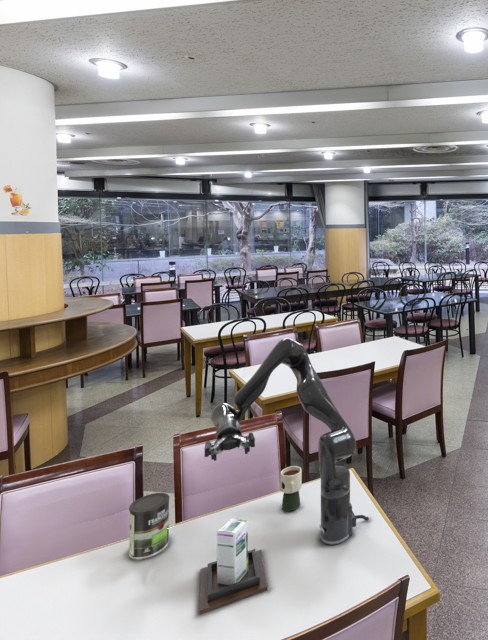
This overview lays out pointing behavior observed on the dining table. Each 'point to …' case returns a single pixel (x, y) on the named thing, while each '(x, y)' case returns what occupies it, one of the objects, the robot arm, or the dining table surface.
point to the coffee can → (149, 525)
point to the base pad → (222, 594)
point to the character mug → (291, 487)
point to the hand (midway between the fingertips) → (231, 454)
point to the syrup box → (232, 551)
